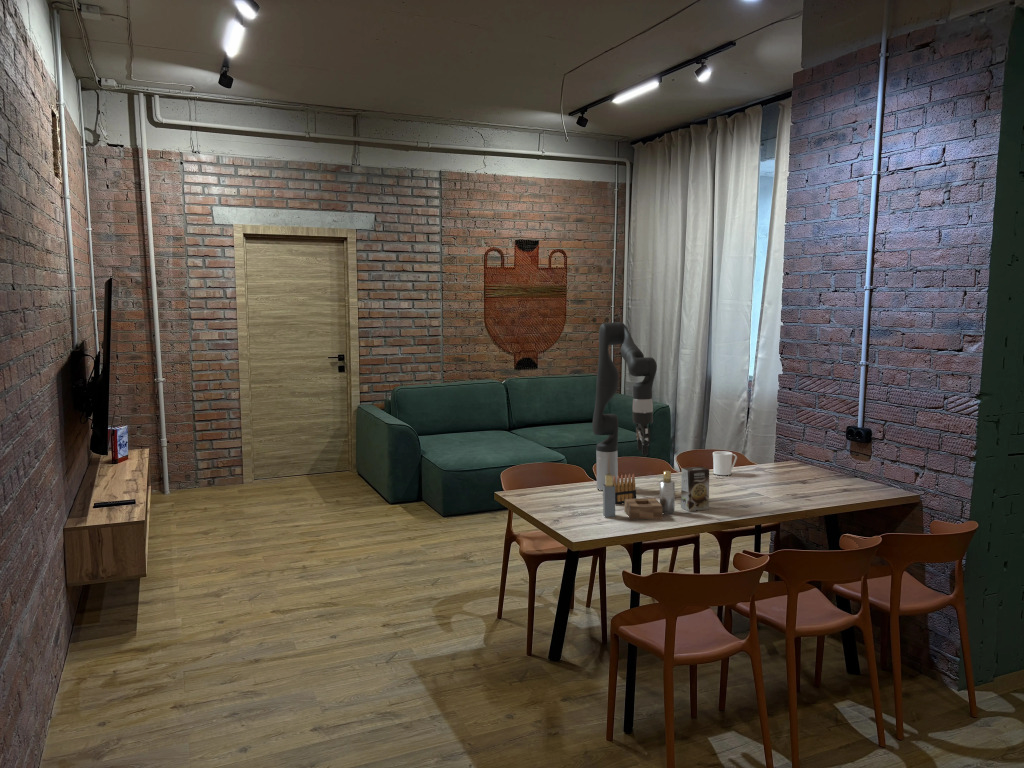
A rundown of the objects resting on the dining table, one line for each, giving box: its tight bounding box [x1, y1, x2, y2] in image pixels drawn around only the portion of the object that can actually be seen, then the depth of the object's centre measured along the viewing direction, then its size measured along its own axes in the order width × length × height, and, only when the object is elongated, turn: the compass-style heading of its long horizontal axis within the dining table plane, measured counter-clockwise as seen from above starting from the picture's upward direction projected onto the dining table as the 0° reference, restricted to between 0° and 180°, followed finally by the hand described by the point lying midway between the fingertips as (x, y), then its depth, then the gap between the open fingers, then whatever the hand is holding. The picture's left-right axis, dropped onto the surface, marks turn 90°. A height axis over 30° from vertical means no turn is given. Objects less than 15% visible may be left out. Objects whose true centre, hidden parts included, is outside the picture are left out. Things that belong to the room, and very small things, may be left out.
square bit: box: [602, 474, 616, 518], centre depth 274 cm, size 4×4×16 cm
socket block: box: [624, 497, 663, 521], centre depth 275 cm, size 12×12×5 cm
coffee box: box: [680, 466, 710, 512], centre depth 282 cm, size 9×6×16 cm
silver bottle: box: [659, 470, 676, 515], centre depth 278 cm, size 6×6×16 cm
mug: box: [712, 450, 738, 477], centre depth 339 cm, size 11×9×10 cm
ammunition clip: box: [613, 473, 637, 505], centre depth 292 cm, size 11×2×12 cm, turn 111°
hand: (642, 452), depth 273 cm, fingers open, 8 cm apart
